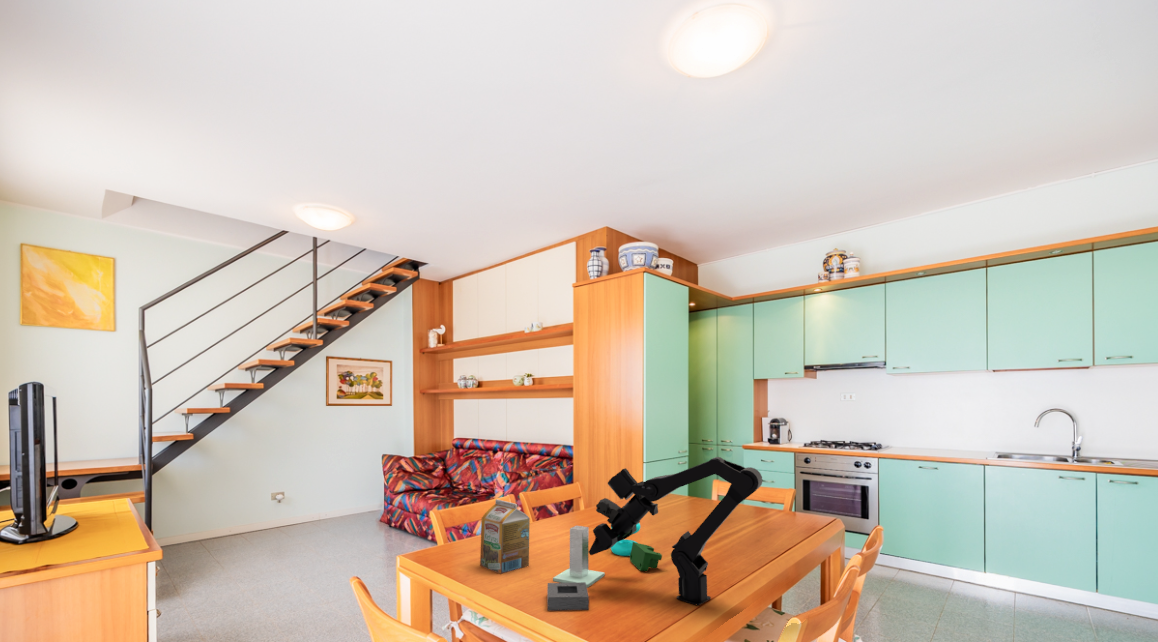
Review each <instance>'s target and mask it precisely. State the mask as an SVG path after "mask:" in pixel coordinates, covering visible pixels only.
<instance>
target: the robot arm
mask: <svg viewBox="0 0 1158 642" xmlns="http://www.w3.org/2000/svg"><path fill="white" fill-rule="evenodd" d="M714 475H716V476H718V477H720V478H721V479H723V480H724V481H726V482H727V483H729V484H730V485H729V488H728V489H727V492H726V494H725V495H724V497H723V498H722V499H721V500H720V501H719V502H718V504H717V505H716V506H715V507H714V508H713V509H712V510H711V512H710V513H709V514H708V515H707V516H706V518H705V519H704V520H703V522H702V523H701V524H700V525H699V526H697V528H696V529H695V531H694V532H693V533H692V534H691V533H690V531H689V530H687V531H686V532H685V533H683V534H682V535H681V536H680V537H679V539H678V541H676V543H674V544H673V545H672V546H671V548H672V551H671V553H670V556H671V558H670V559H671V562H672V564H673V565H674V567H676V570H677V574H678V575H679V577H678V579H677V580H678V582H677V583H678V595H677V596H676V599H677V600H678V601H682V602H684V603H685V602H686V603H687V604H688V603H689V604H690V605H691V604H692V605H695V606H700V605H702V604H705V602H708V601H710V600H711V599H712V598H711V596H710V595H708V575H707V574H705V573H704V572H706V571H707V568H708V566H709V563H708V561H707V560H706V559H705V558H704V556H703V555H702V552H703V551H704V548H705V547H706V544H707V542H708V541H709V540H710V538H711V537H712V536H713V535H714V534H715V533H716V531H718V529H719V528H720V527H721V526H722V524H723V523H724V522H725V521H726V520H727V519H728V517H729V516H730V515H731V514H732V513H733V511H734V510H735V509H736V508H737V507H738V506H739V505H740V504H741V503H742V502H743V501H745V500H746V499H747V498H749V497H750V496H751V495H753V494H754V493H755V492H756V491H757V490H758V489H760V487H761V486H762V484H763V476H762V473H761V472H760V471H759V470H758V469H756V468H755V467H744V466H742V465H741V464H738V463H734V462H732V461H729V460H726V459H724V458H722V457H720V456H715V457H713V458H710V460H707V461H705V462H703V463H700V464H697V465H695V466H692V467H690V468H687V469H684V470H681V471H679V472H677V473H671V474H665V475H660V476H655V477H651V478H649V479H648V480H645V481H639V482H638V481H637V480H636V479H635V478H634V477H633V475H632V474H631V473H630V471H629V470H628V469H627V468H622V469H621V470H620V471H619V472H618V473H616V474H615V475H614V476H612V477H611V478H610V479H609V480H608V481H607V485H608V487H610V489H611V490H612V491H613V493H614V494H615V495H616V496H617V497H618V498H619V500H626V501H627V500H628V501H627V502H626V503H625V504H624V505H623V506H622V507H621V506H619V505H618V504H617V503H616V502H614V501H612V500H611V499H609V498H606V497H605V498H602V499H600V500H599V501H598V502H597V504H596V505H595V507H596V509H595V511H596V512H597V514H601V515H602V516H604V517H605V518H607V519H606V521H607V522H608V524H610V526H609V525H608V524H607V523H605V522H604V523H599V524H598V525H596V527H594V528H593V530H592V533H593V535H594V538H595V539H594V541H593V542H592V545H591V547H590V548H589V549H588V555H590V556H594V555H596V554H599V553H602V552H604V551H607V550H611V547H612V546H614V545H615V544H616V543H617V542H618V541H621V540H623V539H628V538H629V537H631V536H632V535H634V534H633V533H634V532H635V531H636V530H637V527H636V525H637V524H638V523H641V520H642V519H643V518H644V517H645V516H646V515H647V514H648V513H650V515H651V516H655V515H657V514H659V507H658V506H659V504H658V503H654V502H657V501H659V500H661V499H662V498H664V497H666V496H668V495H669V494H671V493H673V492H674V491H676V490H678V489H679V488H681V487H684V486H687V485H690V484H693V483H695V482H697V481H700V480H704V479H706V478H708V477H711V476H714ZM611 527H612V529H611Z"/></svg>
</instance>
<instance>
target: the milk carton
mask: <svg viewBox="0 0 1158 642" xmlns="http://www.w3.org/2000/svg"><path fill="white" fill-rule="evenodd" d="M530 520H531V519H530V517H529V516H528V515H527V514H526V513H524V512H523V511H522V510H520V509H518V504H517V503H513V502H510V501H505V500H502V499H495V504H494V505H492V506H491V507H490V508H489V509H488V510H487V511H486V512H485V513H484V514H483V515H482V517H481V522H480V523H481V528H480V530H481V531H480V532H481V533H480V552H479V554H480V557H479V559H480V560H479V566H480V567H481V568H485V569H486V570H489V569H490V571H492V572H494V573H496V574H499V575H503V574H506V573H509V572H510V573H511V572H514V571H516V570H520V568H521V569H525V568H527V566H528V567H529V566H530V525H531V524H530V522H531V521H530Z"/></svg>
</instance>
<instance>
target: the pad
mask: <svg viewBox="0 0 1158 642" xmlns="http://www.w3.org/2000/svg"><path fill="white" fill-rule="evenodd" d="M605 575H606V574H605V572H603V571H598V570H593V569H592V570H591V569H588V575H587V576H585V577H584V578H577V577H571V576H570V567H569V568H567V569H565V570H564V571H562V572H561V573H559V574H557V575H555V576H553V577H552V581H553V582H555V583H579V582H586V587H587V589H588V588H589V587H591V586H592V585H593V584H595V583H596V582H598V581H599V580H601V579H602V578H603V577H605Z"/></svg>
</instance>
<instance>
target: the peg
mask: <svg viewBox="0 0 1158 642" xmlns="http://www.w3.org/2000/svg"><path fill="white" fill-rule="evenodd" d="M589 528H590V527H589V526H583V525H575V526H573V527H570V528H569V568H570V576H571V577H577V578H584V577H585V576H587V575H588V570H589Z"/></svg>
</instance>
